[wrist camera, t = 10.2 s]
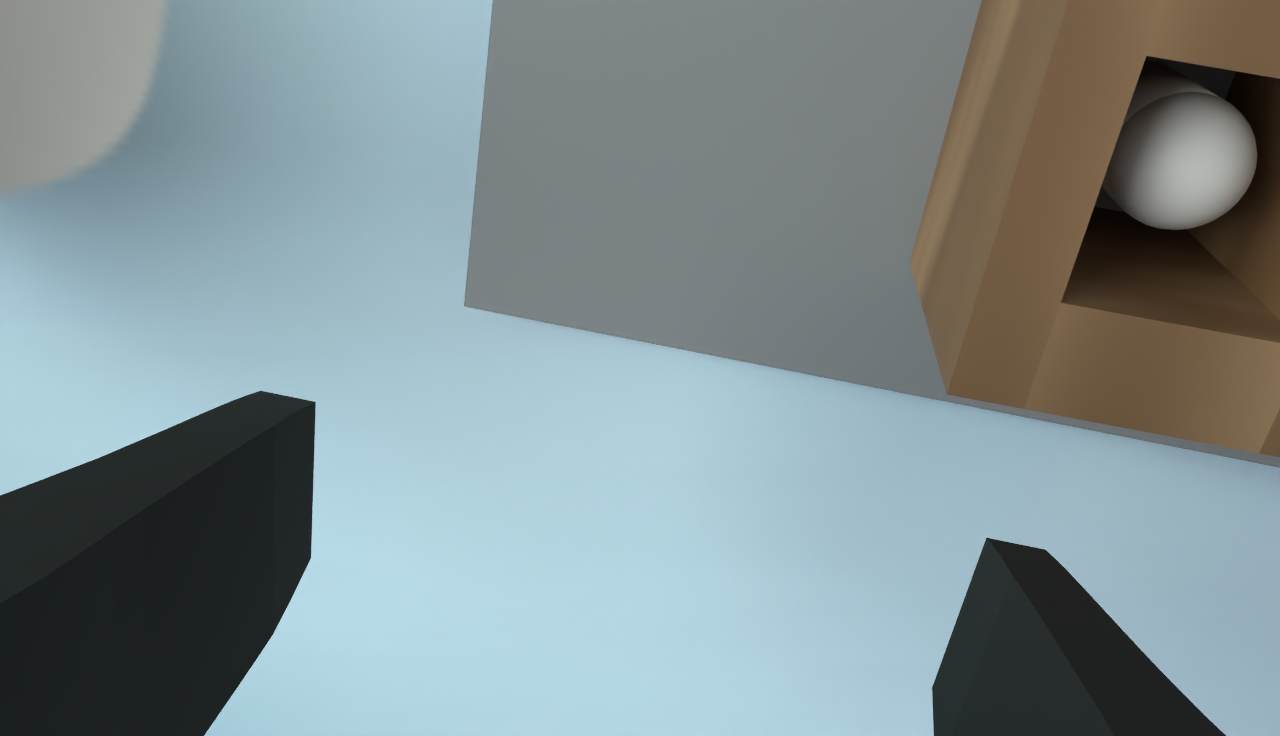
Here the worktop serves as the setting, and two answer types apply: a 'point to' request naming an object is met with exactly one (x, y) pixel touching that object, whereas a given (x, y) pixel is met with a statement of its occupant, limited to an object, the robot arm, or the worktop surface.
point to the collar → (1103, 228)
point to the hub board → (774, 176)
